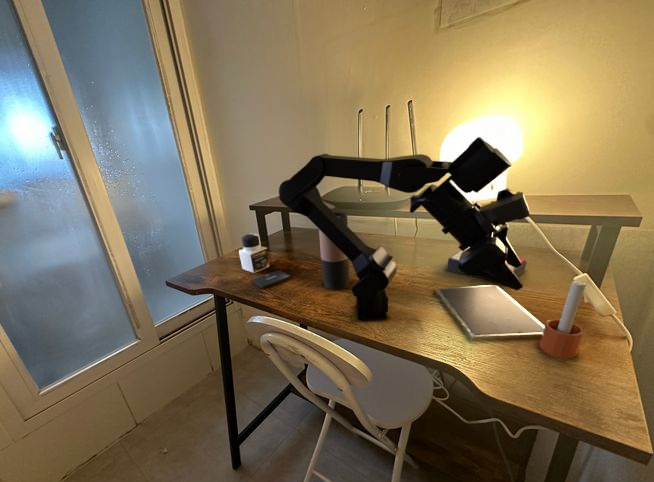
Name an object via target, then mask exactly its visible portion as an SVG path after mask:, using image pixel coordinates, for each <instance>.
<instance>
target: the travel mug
mask: <svg viewBox="0 0 654 482" xmlns="http://www.w3.org/2000/svg"><path fill="white" fill-rule="evenodd" d="M333 213H334V214H335V215H336V216H337V217H338V218H339V219H340V220H341V221H343V222H344V223H345V224H346V225H347V226H348V214H347V213H345V212H333ZM348 227H349V226H348ZM318 234H319V248H320V263H321V269H322V280H323V285H324V287H325V288H326V289H327V290H331V291H340V290H344V289H347V288H348V287H349V285H350V260H349V259H348V258H347V257H346V256H345V255H344V254H343V253H342V252H341V251H340V250H339V249H338V248H337V247H336V245H335V244H334V243H333V242H332V241H331V240H330V239H329V238H328V237H327V236H326V235H325V234H324V233H323V232H322V231H321V230H320V229H319V228H318Z"/></svg>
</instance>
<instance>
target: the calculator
mask: <svg viewBox="0 0 654 482" xmlns="http://www.w3.org/2000/svg"><path fill="white" fill-rule="evenodd" d="M469 248H470V247H469ZM467 249H468V248H467ZM467 249H466V250H467ZM464 251H465V250H464ZM464 251H462V250H459V251H458V252H456V253H455V254H454V255H452V256H450V257H449V258H448V259H447V264H446V271H448V272H451V273H455V274H464V273H463V272H462V271H461V270H460V269H459V268H458V264H459V259H460V256H461V253H462V252H464ZM518 258H519V260H520V261H521V263H522V265H521V266H519V267H517V268H515V267H513V266H511V265H509V264H508V265H509V266H510V268H511V269H512V270H513V272H514V273H515V275H516V276H517V277H518V278H519V276H521V274H523V273H524V272H525V271H526V267H527V264H528V260H526V258H523V257H518ZM475 277H477V276H475ZM477 278H480V277H477ZM480 279H481V278H480ZM485 280H486V281H488V280H487V279H485Z"/></svg>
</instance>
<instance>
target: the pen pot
mask: <svg viewBox="0 0 654 482" xmlns="http://www.w3.org/2000/svg"><path fill="white" fill-rule="evenodd" d="M560 319H561V318H560ZM560 319H559V318H553V319H549V320H547V321H546V322H545V324H544V326H545V327H544V331H543V334H542V337H540V340H539V347H540V349H541V350H542V351H544V352H545V353H546V354H548V355H550V356H553V357H555V358H560V359H561V358H562V359H572V358H575V357H576V356H577V354H578V352H579V349H580V346H581V344H582V340H583V338H584V335H585V333H586V331H585V329H584V327H582V326H581V325H579V324H578V323H576V322H573V324H572V327H571V330H570V333H569V334H565V333H561V332H558V331H557V328H558V325H559V322H560Z"/></svg>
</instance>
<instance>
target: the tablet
mask: <svg viewBox="0 0 654 482" xmlns="http://www.w3.org/2000/svg"><path fill="white" fill-rule="evenodd" d="M434 293H435V294H436V296H437V298H439V299H440V300H441V301H442V303H443V304H444V305H445V306H446V308H447V309H448V310H449V312H450V313H451V314H452V316H453V317H454V319H455V320H456V321H457V322H458V324H459V325H460V327H461V328H462V330H463V331H464V332H465V333H466V335H467V336H468V337H469V339H470V340H471V341H473V340H474V341H475V340H499V339H524V338H525V339H526V338H527V339H528V338H541V337H542V334H543V331H544V327H545V324H543V323H542V322H541V321H539V319H538V318H536V317H535V316H534V315H532V314H531V313H530V312H529V311H528V310H527V309H526V308H524V307H523V306H522V305H521V304H520V303H518V302H517V301H516V300H515V299H514V298H513V297H511V296H510V295H509V294H508V293H507V292H505V290H504V289H502V288H501V287H499V285H498V284H488V285H486V284H485V285H471V286H455V287H439V288H434Z"/></svg>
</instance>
